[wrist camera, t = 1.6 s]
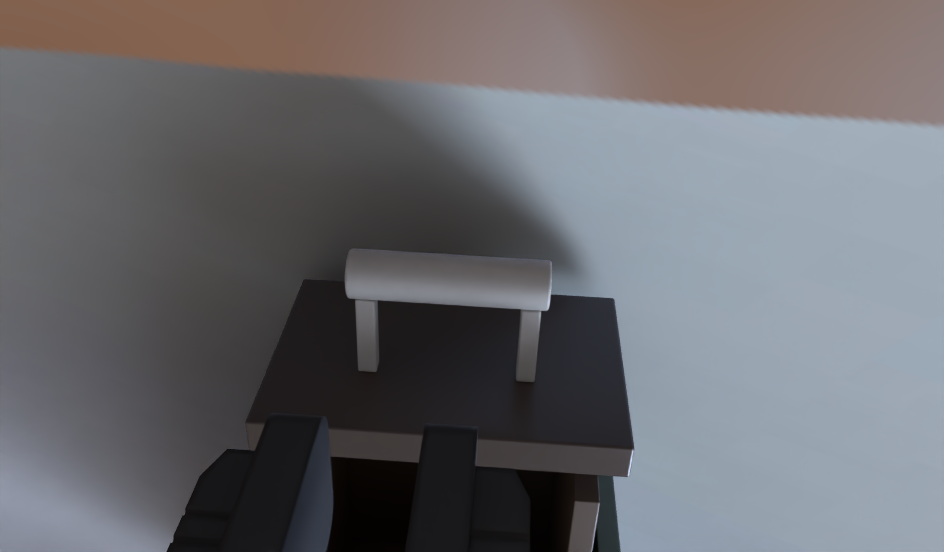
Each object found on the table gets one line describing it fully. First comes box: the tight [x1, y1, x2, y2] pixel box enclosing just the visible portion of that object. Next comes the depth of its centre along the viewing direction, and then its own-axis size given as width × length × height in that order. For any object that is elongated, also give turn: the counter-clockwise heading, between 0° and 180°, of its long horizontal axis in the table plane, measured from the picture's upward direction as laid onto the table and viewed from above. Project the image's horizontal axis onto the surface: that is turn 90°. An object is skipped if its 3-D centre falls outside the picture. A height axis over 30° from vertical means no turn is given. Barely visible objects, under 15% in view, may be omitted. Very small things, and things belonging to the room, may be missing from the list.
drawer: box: [245, 248, 634, 552], centre depth 31 cm, size 18×11×8 cm, turn 178°
